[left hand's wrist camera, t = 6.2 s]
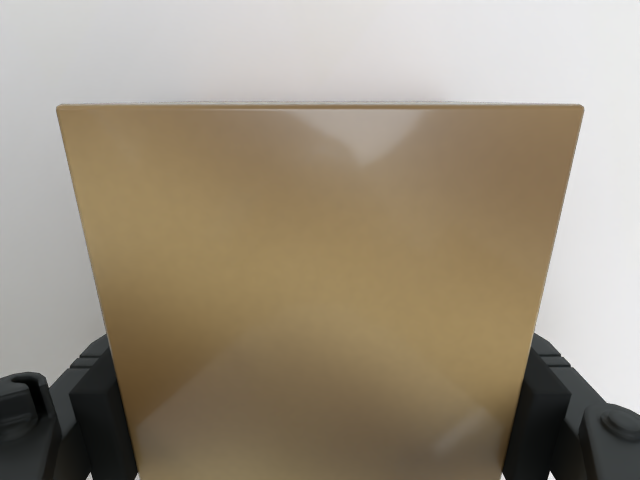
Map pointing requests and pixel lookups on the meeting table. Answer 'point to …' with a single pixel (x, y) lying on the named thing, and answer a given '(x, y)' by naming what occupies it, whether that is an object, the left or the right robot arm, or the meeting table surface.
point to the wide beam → (320, 279)
